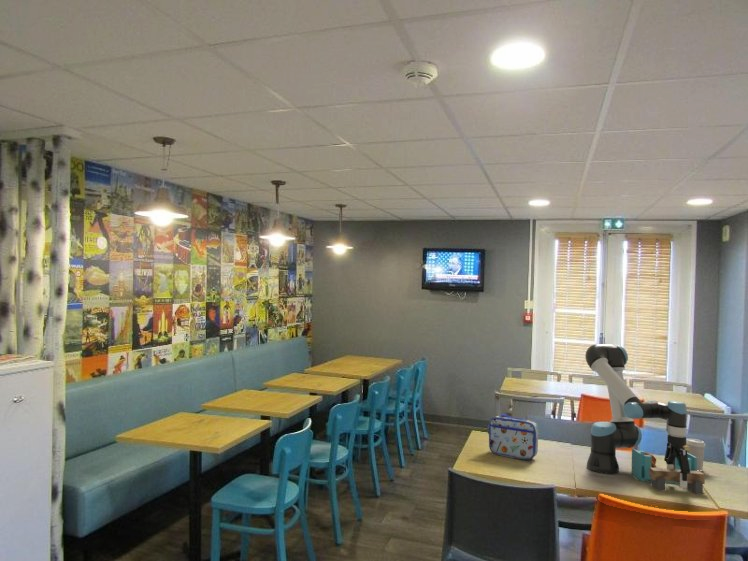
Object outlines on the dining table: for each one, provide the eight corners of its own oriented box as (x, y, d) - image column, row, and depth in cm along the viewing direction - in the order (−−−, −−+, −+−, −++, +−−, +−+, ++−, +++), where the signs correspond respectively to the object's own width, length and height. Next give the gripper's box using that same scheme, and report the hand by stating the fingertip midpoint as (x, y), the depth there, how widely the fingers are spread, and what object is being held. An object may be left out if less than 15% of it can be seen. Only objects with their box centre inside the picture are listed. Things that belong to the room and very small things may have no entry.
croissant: (634, 464, 277) (627, 450, 278) (652, 457, 275) (644, 444, 276) (645, 475, 256) (637, 460, 258) (664, 468, 254) (656, 453, 256)
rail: (653, 480, 227) (653, 470, 227) (649, 477, 231) (649, 467, 231) (704, 484, 224) (704, 474, 225) (699, 480, 229) (699, 471, 229)
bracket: (639, 480, 237) (639, 453, 238) (631, 474, 246) (631, 448, 247) (696, 485, 234) (696, 457, 235) (686, 478, 243) (686, 452, 244)
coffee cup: (709, 473, 255) (709, 443, 255) (688, 471, 256) (688, 442, 257) (700, 467, 264) (700, 439, 265) (681, 465, 266) (681, 437, 267)
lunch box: (484, 453, 273) (485, 413, 274) (490, 449, 282) (491, 410, 283) (534, 463, 258) (535, 421, 260) (539, 458, 267) (540, 417, 268)
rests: (658, 490, 225) (658, 478, 225) (651, 485, 232) (651, 473, 232) (702, 493, 223) (702, 482, 223) (694, 488, 230) (694, 477, 230)
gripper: (699, 442, 217) (699, 493, 215) (672, 429, 240) (672, 475, 239) (681, 441, 218) (681, 491, 216) (656, 428, 241) (656, 473, 240)
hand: (676, 483), depth 228 cm, fingers open, 12 cm apart
